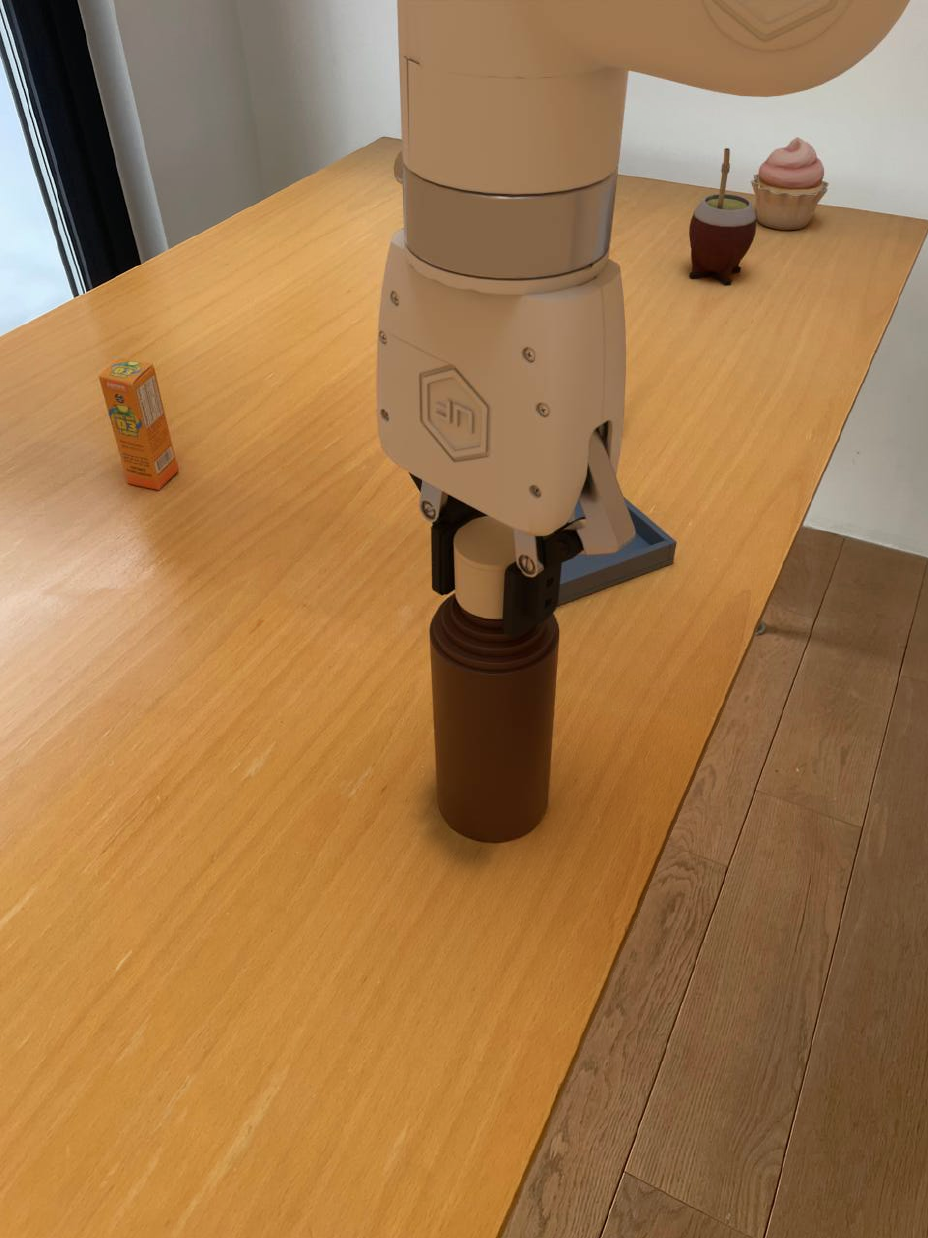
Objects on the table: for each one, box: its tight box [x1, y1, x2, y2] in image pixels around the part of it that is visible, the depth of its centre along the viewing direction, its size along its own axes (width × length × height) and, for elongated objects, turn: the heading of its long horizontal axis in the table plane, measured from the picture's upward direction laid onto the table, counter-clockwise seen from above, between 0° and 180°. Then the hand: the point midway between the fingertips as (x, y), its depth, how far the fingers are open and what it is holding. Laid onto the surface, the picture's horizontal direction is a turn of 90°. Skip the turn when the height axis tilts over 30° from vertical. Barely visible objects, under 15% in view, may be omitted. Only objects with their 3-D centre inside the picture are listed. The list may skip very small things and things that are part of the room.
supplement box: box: [98, 357, 179, 491], centre depth 80 cm, size 3×3×10 cm
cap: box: [454, 516, 516, 619], centre depth 47 cm, size 4×4×3 cm
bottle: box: [429, 592, 560, 843], centre depth 52 cm, size 6×6×18 cm
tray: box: [487, 495, 678, 607], centre depth 75 cm, size 13×11×2 cm
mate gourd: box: [688, 147, 757, 286], centre depth 109 cm, size 8×8×15 cm
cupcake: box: [750, 136, 830, 231], centre depth 123 cm, size 9×9×10 cm
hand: (493, 598), depth 48 cm, fingers closed on cap, 3 cm apart
